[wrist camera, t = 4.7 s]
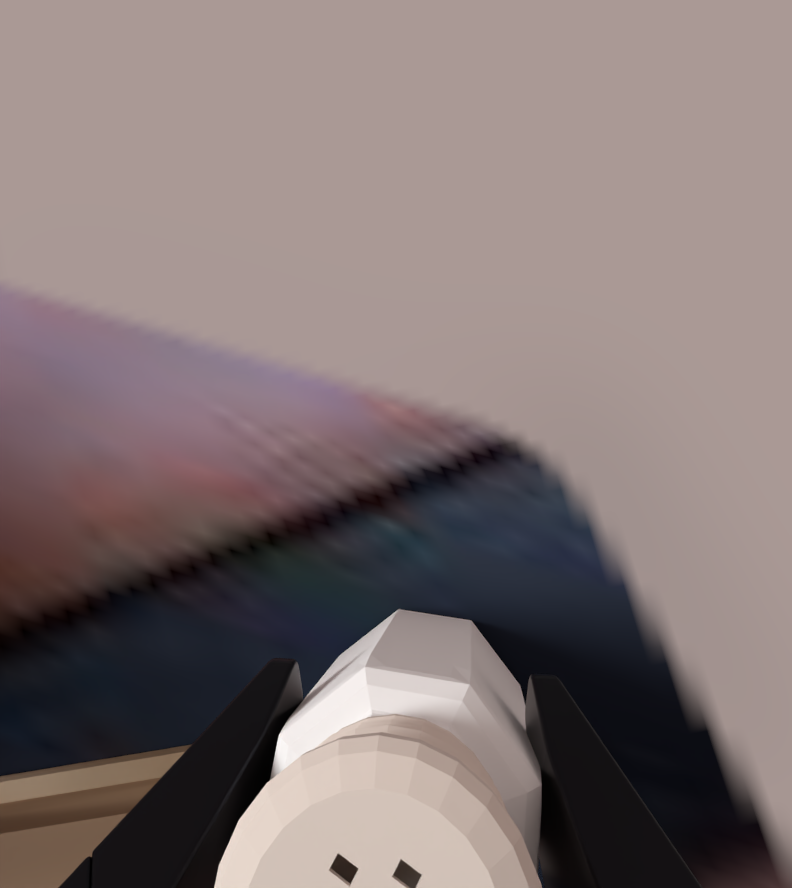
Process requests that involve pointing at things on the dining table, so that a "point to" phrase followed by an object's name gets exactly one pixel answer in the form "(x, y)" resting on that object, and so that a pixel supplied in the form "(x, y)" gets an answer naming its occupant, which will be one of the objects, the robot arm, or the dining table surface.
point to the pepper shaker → (399, 772)
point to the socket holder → (69, 813)
